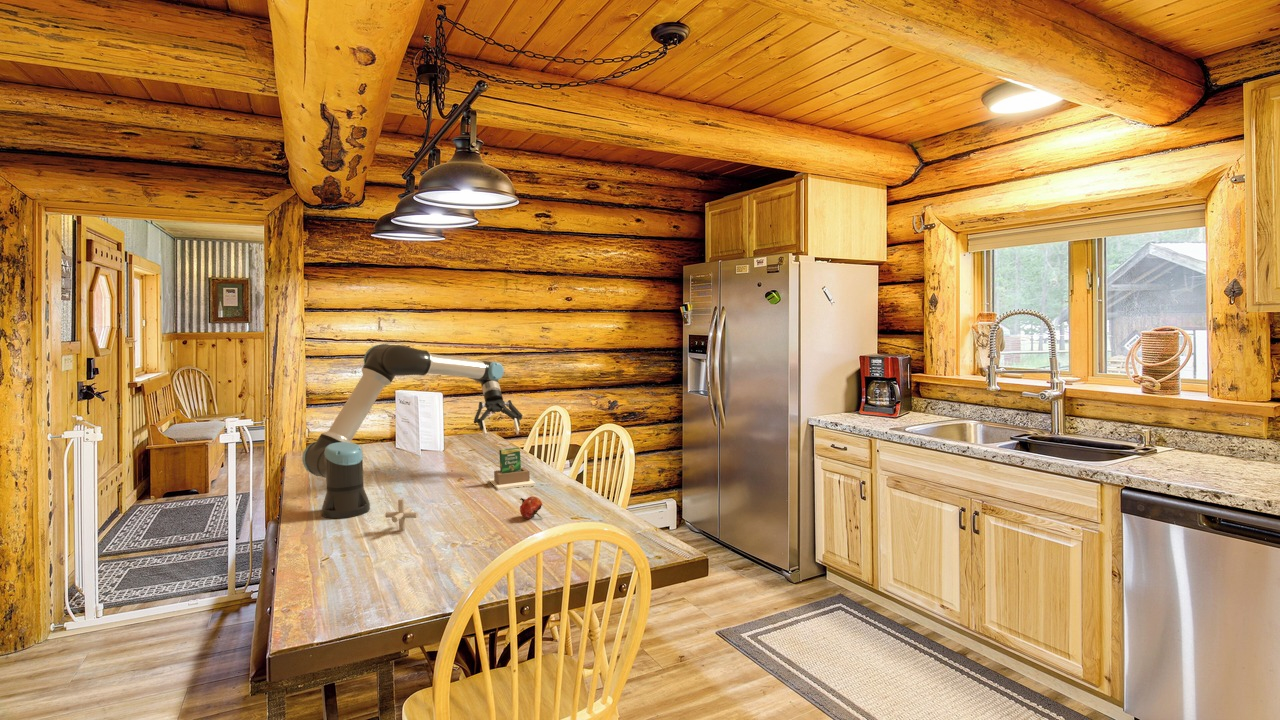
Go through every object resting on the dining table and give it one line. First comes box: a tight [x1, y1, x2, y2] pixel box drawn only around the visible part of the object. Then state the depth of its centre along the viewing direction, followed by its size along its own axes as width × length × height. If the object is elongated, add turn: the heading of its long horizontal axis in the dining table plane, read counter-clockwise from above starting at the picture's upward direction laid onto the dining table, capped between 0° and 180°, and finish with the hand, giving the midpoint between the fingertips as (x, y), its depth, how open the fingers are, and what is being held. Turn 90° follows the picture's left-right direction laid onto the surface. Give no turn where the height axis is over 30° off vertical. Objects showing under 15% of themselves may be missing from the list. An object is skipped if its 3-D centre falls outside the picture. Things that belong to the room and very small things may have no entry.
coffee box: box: [498, 446, 522, 474], centre depth 259 cm, size 8×3×13 cm, turn 116°
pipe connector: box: [384, 497, 419, 532], centre depth 204 cm, size 10×10×10 cm
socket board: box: [488, 467, 537, 491], centre depth 260 cm, size 15×15×5 cm
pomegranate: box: [519, 496, 544, 520], centre depth 215 cm, size 7×7×10 cm
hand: (501, 433), depth 268 cm, fingers open, 13 cm apart
